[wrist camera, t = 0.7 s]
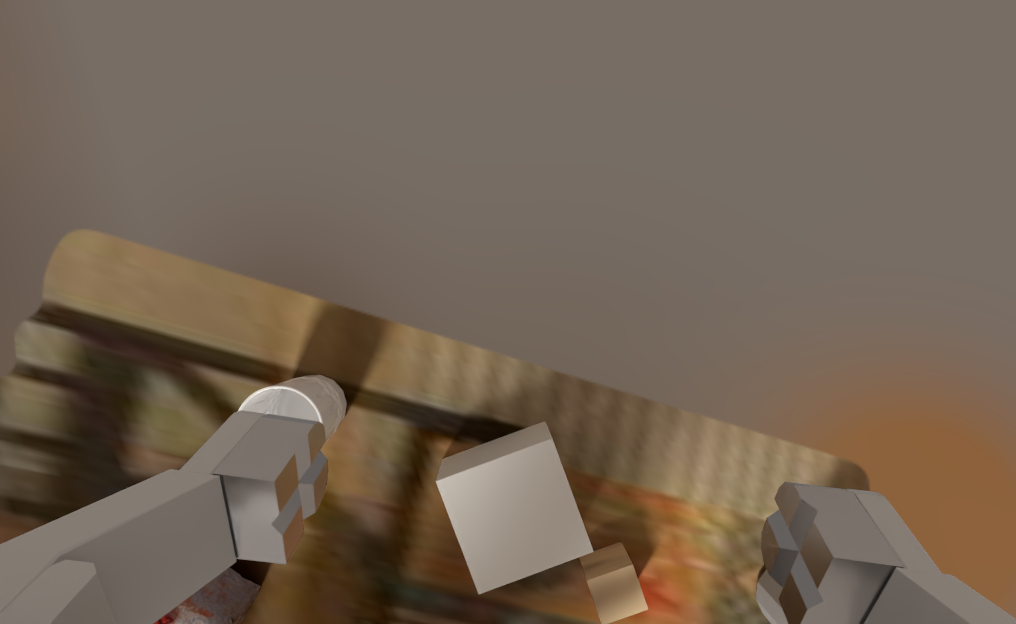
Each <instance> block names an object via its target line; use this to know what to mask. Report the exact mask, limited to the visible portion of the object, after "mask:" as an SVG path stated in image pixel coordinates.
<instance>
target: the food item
mask: <svg viewBox="0 0 1016 624" xmlns="http://www.w3.org/2000/svg"><path fill="white" fill-rule="evenodd" d="M260 587H261V586H260V585H257V584H255V583H253V582H252V581H249V580H247V579H245V578H242V577H241V575H240V574H238V573H237V572H236V571H234V570H233V569H231V568H230V567H229V568H227V569H226V570H225V571H223V572H222V573H221V574H219V575H218V576H217V577H215V578H214V579H213V580H211V581H210V582H209V583H207V584H206V585H205V586H203V587H202V588H201V589H199V590H198V591H197V592H195V593H194V594H193V595H191V596H190V597H189V598H187V599H186V600H185V601H183V602H182V603H181V604H179V605H178V606H177V607H175V608H174V609H172V610H171V611H170V612H168V613H167V614H166V615H164V616H163V617H162V618H160V619H159V620H158V621H156V622H155V623H154V624H239V623H240V622H241V621H242V620H243V619H244V617H245V615H246V613H247V610H248V609H249V607H250V605H251V604H252V603H253V601H254V600H255V598H256V596H257V595H258V592H259V589H260Z"/></svg>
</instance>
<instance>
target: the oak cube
mask: <svg viewBox="0 0 1016 624" xmlns="http://www.w3.org/2000/svg"><path fill="white" fill-rule="evenodd" d="M579 559H580V562H581V565H582V568H583V571H584V574H585V577H586V580H587V583H588V586H589V589H590V592H591V595H592V598H593V601H594V604H595V607H596V609H597V612H598V615H599V618H600V621H601V624H608V623H611V622H614V621H617V620H620V619H622V618H625V617H628V616H631V615H634V614H637V613H639V612H642V611H645V610H648V607H647V604H646V601H645V599H644V596H643V593H642V590H641V587H640V584H639V581H638V578H637V575H636V572H635V569H634V566H633V564H632V562H631V560H630V558H629V556H628V554H627V552H626V550H625V548H624V546H623V544H622V542H618V543H615V544H613V545H610V546H607V547H604V548H601V549H598V550H596V551H594V552H592V553H589V554H586V555H584V556H581V557H579Z"/></svg>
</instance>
